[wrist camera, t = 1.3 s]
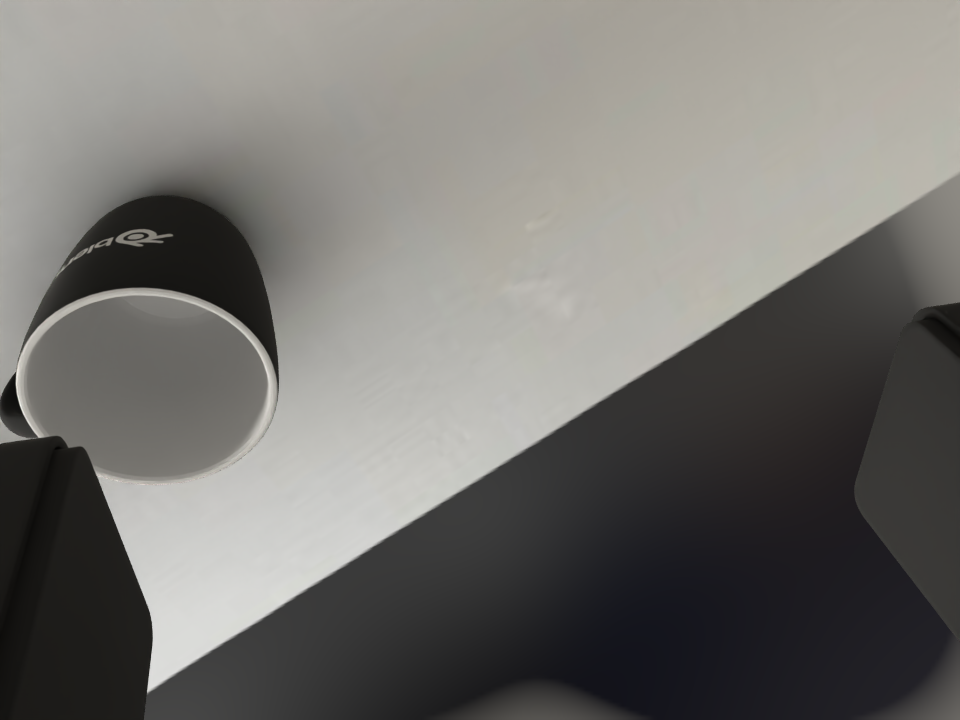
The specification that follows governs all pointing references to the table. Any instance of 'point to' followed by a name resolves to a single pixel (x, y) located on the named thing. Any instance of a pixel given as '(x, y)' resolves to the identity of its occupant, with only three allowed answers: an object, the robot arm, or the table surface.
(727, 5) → the table surface
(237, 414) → the mug
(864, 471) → the robot arm
